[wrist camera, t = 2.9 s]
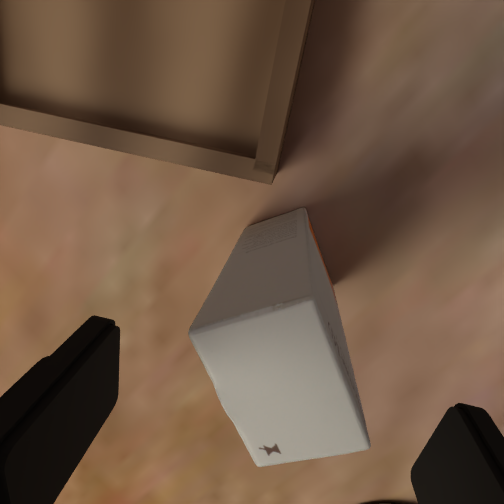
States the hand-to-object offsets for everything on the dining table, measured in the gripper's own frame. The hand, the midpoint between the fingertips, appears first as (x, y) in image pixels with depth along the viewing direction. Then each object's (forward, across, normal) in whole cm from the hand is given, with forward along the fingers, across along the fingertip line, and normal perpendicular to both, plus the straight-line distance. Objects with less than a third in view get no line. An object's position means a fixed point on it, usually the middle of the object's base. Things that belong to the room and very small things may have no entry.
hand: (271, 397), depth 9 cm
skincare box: (+13, -1, +1) cm, 13 cm away
